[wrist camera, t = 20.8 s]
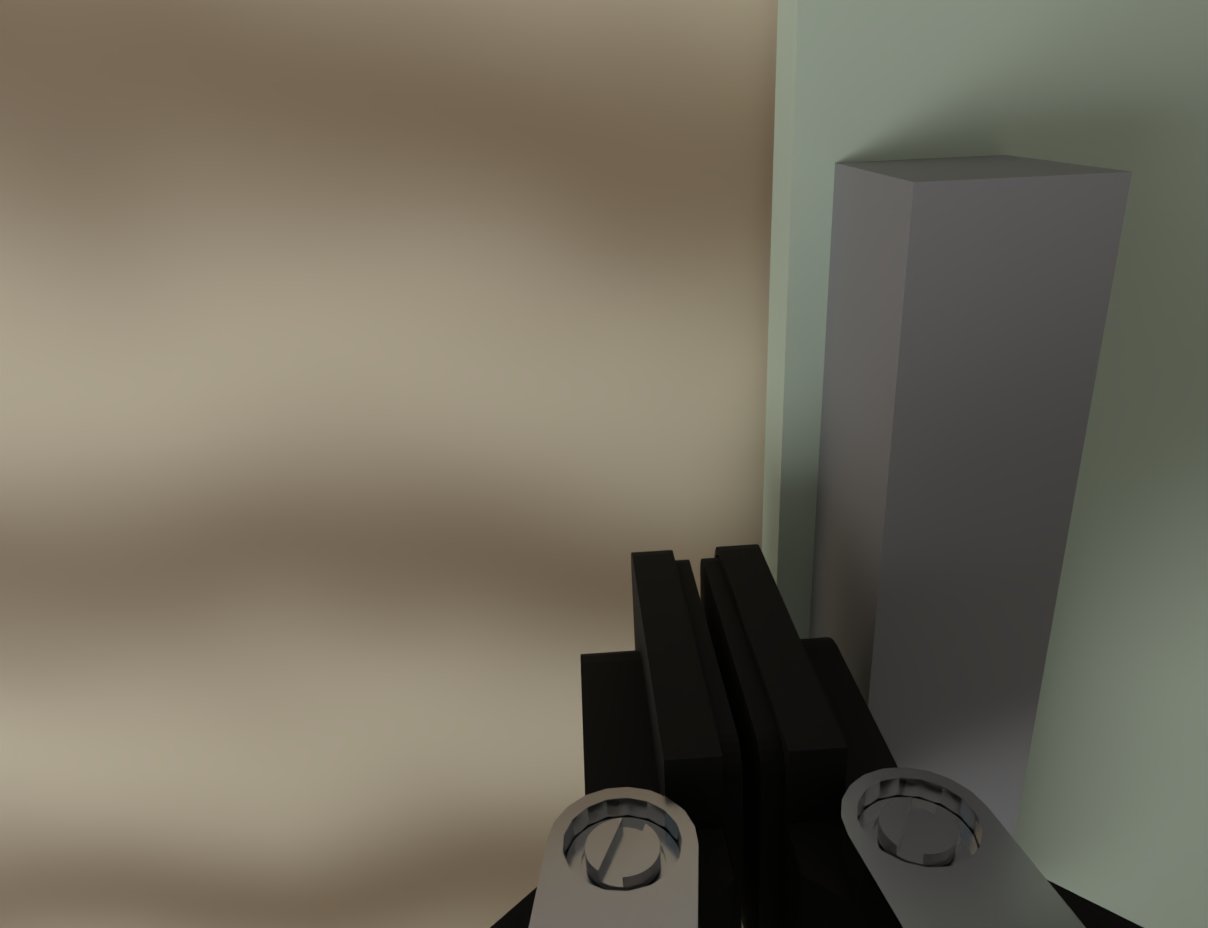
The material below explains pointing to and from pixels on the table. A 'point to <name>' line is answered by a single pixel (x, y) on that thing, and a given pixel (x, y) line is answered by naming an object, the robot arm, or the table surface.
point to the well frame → (353, 430)
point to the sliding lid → (1005, 409)
